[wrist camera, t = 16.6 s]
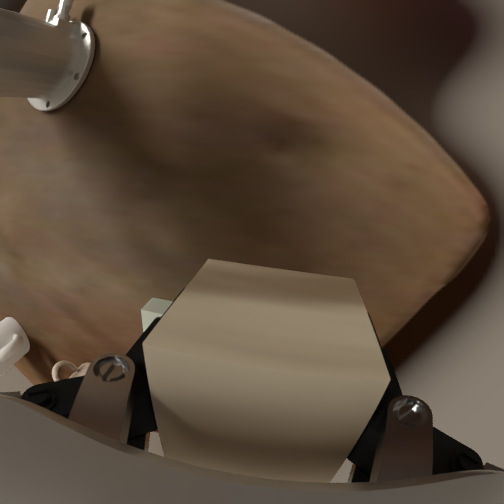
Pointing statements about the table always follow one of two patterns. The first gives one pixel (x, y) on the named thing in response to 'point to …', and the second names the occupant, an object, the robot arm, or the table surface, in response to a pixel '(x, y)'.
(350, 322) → the ash block
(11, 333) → the mug
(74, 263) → the table surface
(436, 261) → the table surface
